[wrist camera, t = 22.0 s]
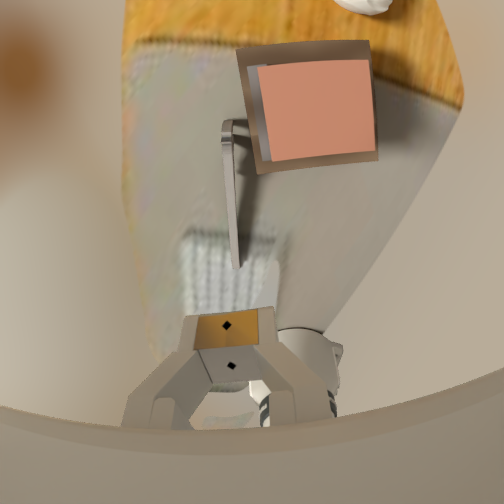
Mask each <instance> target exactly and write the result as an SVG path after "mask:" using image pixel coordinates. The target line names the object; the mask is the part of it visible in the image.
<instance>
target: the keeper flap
mask: <svg viewBox="0 0 504 504" xmlns="http://www.w3.org/2000/svg"><path fill="white" fill-rule="evenodd" d="M257 70H258V76H259V82H260V88H261V94H262V100H263V106H264V113H265V119H266V126H267V132H268V139H269V145H270V152H271V159H272V162H274V161H281V160H289V159H297V158H305V157H313V156H322V155H331V154H341V153H352V152H364V151H375V135H374V116H373V102H372V90H371V79H370V70H369V61H368V60H330V61H312V62H299V63H288V64H279V65H270V66H262V67H257Z"/></svg>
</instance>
